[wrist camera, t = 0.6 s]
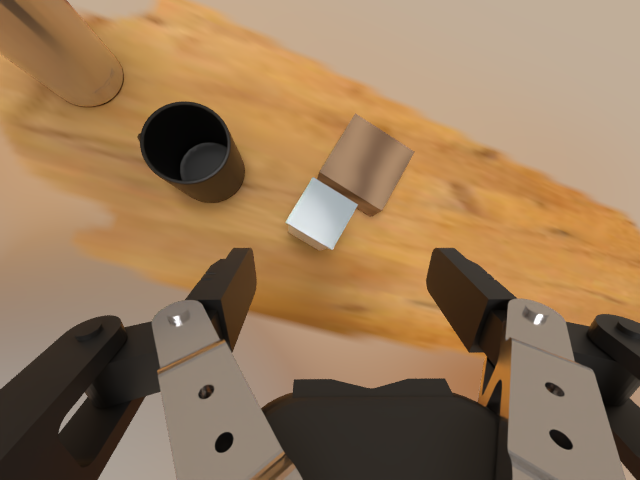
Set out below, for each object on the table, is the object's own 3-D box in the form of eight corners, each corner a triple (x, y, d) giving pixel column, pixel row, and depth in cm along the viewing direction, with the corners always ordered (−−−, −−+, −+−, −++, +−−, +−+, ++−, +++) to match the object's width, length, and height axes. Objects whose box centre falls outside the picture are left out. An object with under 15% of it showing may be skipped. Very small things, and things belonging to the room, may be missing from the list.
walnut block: (315, 183, 38) (319, 171, 33) (346, 131, 39) (355, 113, 34) (369, 216, 38) (381, 210, 33) (398, 165, 40) (414, 151, 35)
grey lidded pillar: (286, 232, 36) (285, 222, 26) (306, 200, 37) (312, 176, 27) (319, 252, 37) (332, 249, 26) (338, 219, 37) (358, 204, 27)
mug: (171, 126, 35) (132, 80, 26) (253, 151, 37) (241, 117, 28) (149, 186, 34) (100, 161, 25) (234, 211, 36) (215, 195, 27)
